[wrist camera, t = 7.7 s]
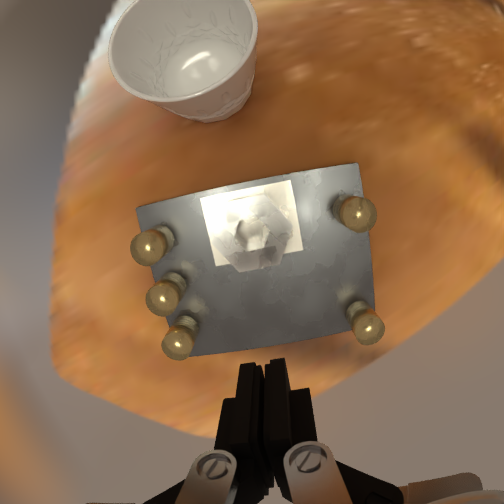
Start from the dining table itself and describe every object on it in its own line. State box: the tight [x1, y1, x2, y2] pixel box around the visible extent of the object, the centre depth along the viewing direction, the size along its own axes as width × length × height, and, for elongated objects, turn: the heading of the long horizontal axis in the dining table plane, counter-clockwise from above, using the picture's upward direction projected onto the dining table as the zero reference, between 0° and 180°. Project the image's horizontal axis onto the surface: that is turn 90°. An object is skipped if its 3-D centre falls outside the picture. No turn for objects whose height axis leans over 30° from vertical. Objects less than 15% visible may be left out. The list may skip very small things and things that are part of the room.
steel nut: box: [211, 192, 293, 273], centre depth 22 cm, size 5×6×2 cm
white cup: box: [108, 0, 258, 123], centre depth 17 cm, size 8×8×10 cm
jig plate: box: [130, 163, 385, 360], centre depth 23 cm, size 14×18×4 cm
